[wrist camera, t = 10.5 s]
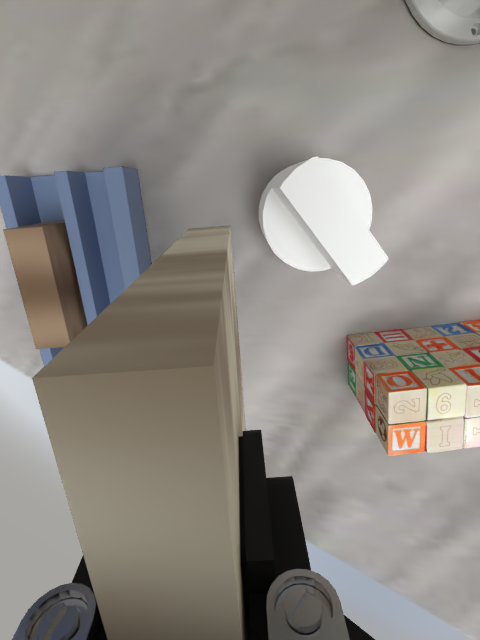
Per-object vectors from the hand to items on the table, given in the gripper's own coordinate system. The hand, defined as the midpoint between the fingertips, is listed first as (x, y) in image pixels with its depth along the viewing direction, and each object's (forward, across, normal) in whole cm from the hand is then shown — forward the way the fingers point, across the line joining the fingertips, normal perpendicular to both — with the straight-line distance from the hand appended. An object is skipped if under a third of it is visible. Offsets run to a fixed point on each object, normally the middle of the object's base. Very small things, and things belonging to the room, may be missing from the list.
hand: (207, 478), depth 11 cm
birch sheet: (+10, 0, 0) cm, 10 cm away
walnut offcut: (+28, +15, -1) cm, 32 cm away
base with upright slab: (+29, -8, -5) cm, 31 cm away
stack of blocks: (+29, -23, +11) cm, 39 cm away
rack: (+29, +13, -1) cm, 32 cm away
